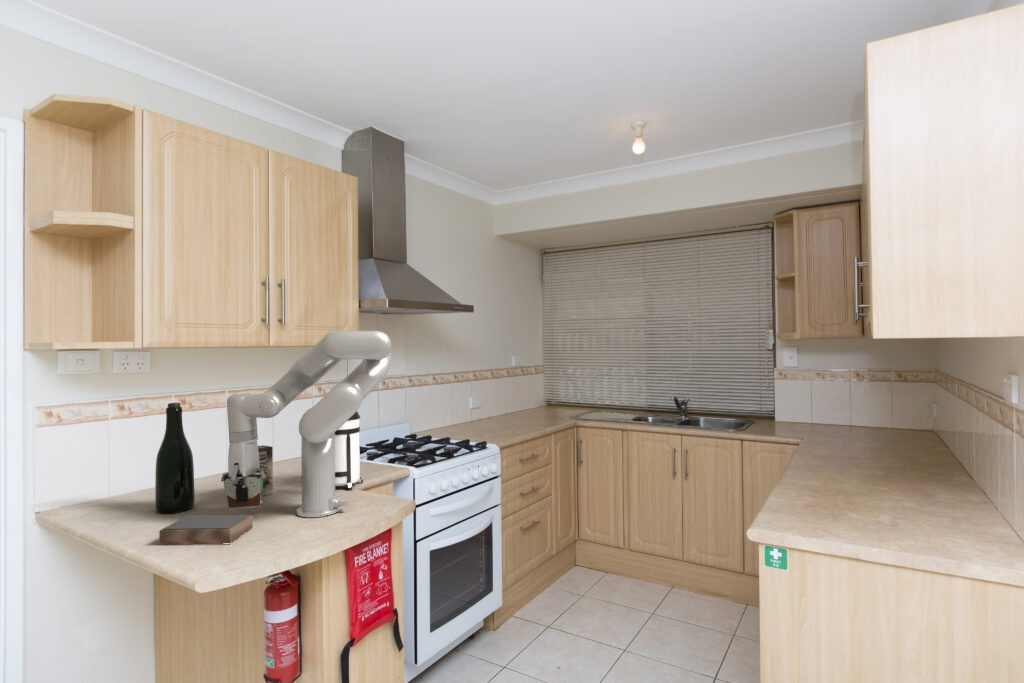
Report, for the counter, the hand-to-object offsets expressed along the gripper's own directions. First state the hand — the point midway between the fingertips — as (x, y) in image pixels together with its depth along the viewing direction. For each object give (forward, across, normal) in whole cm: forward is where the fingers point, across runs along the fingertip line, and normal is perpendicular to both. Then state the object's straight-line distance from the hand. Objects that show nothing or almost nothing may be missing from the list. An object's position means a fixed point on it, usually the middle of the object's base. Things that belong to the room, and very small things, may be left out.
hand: (247, 497), depth 163 cm
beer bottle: (+5, -10, -27) cm, 29 cm away
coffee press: (+7, -34, +17) cm, 38 cm away
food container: (+2, -1, 0) cm, 2 cm away
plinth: (+6, +15, -3) cm, 17 cm away
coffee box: (+6, -25, -9) cm, 27 cm away
